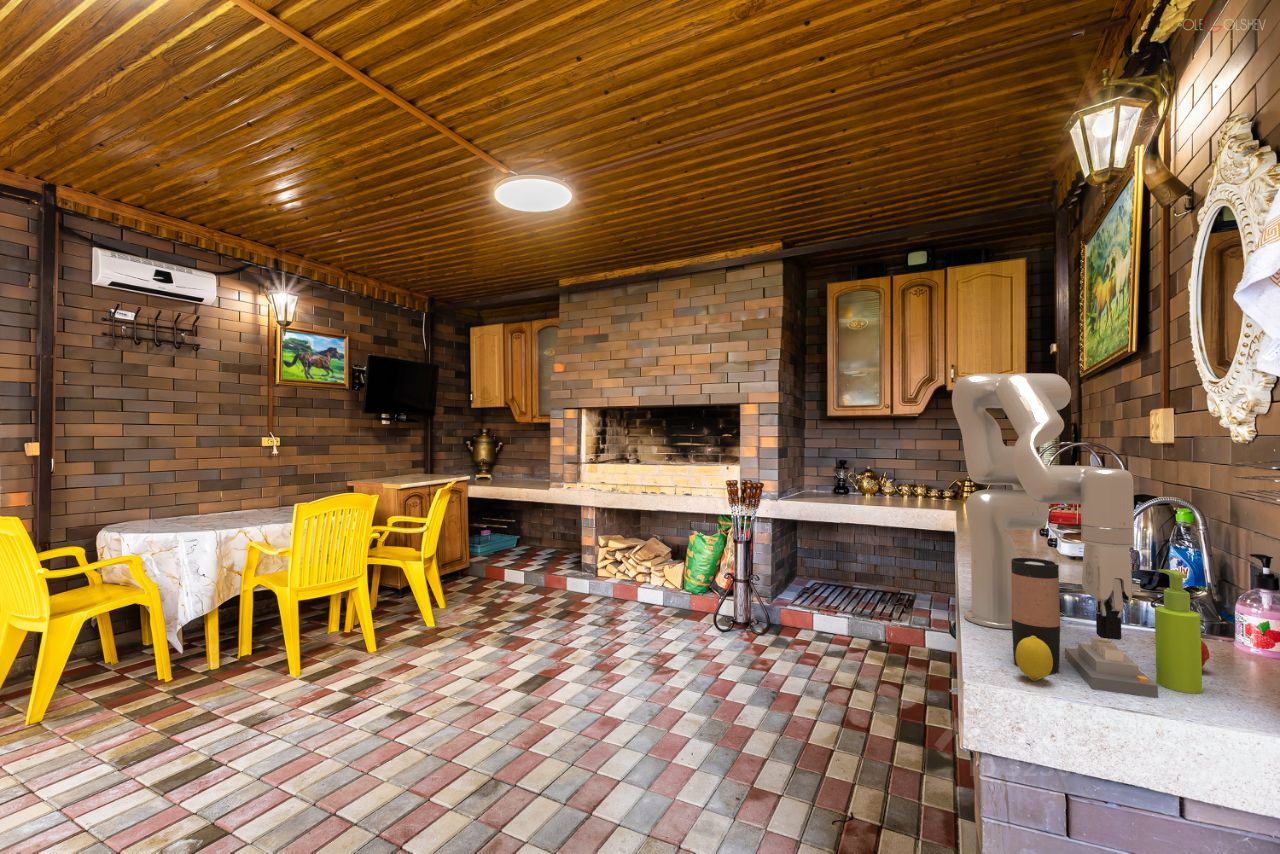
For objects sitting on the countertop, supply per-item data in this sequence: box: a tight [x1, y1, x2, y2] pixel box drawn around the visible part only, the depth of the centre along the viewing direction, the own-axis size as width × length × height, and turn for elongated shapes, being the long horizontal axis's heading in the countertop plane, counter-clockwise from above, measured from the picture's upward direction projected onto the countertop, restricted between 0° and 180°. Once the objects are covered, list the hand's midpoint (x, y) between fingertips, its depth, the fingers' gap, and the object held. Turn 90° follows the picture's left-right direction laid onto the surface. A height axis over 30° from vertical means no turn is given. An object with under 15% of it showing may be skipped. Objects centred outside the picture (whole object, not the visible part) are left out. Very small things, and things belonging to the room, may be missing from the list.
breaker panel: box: [1063, 636, 1159, 699], centre depth 105 cm, size 16×9×6 cm, turn 157°
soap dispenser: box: [1154, 568, 1203, 694], centre depth 102 cm, size 6×7×20 cm
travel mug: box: [1011, 557, 1061, 675], centre depth 110 cm, size 8×8×20 cm
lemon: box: [1015, 636, 1053, 682], centre depth 103 cm, size 6×6×8 cm
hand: (1108, 637), depth 104 cm, fingers closed
